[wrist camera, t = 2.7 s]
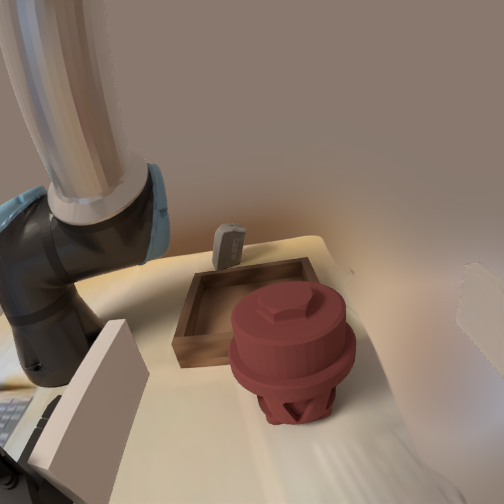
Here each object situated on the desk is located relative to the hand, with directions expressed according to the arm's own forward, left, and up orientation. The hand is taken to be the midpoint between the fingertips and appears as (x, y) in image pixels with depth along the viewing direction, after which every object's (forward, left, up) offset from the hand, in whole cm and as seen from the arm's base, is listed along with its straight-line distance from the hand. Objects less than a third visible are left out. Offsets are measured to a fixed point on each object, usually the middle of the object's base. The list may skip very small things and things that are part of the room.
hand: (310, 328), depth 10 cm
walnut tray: (-21, +16, -17) cm, 31 cm away
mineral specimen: (-38, +27, -17) cm, 50 cm away
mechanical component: (-7, +7, -17) cm, 20 cm away
